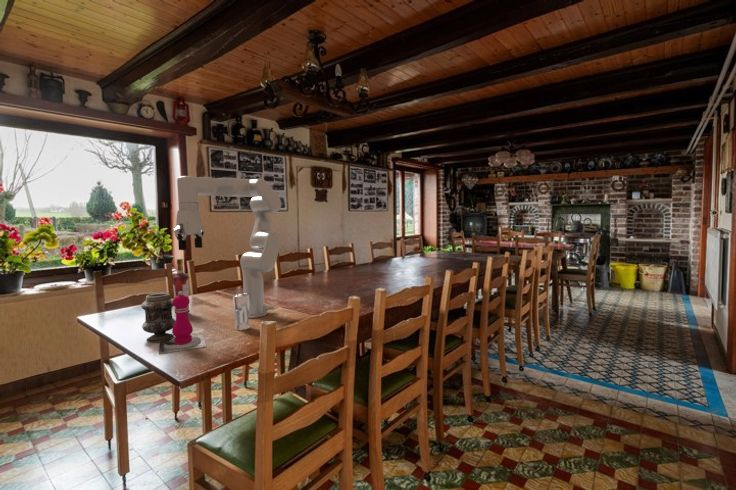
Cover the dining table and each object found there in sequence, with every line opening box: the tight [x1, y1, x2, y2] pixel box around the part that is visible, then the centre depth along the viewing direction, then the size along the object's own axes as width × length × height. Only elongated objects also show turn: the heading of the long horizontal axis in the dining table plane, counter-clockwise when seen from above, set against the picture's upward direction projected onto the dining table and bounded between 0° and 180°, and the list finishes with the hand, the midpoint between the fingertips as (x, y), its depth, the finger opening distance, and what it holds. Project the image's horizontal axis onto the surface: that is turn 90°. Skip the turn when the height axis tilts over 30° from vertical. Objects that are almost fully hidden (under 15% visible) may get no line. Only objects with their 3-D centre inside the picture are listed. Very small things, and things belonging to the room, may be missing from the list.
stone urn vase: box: [141, 292, 176, 343], centre depth 157 cm, size 12×12×18 cm
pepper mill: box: [171, 291, 194, 344], centre depth 151 cm, size 7×7×20 cm
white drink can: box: [232, 292, 250, 331], centre depth 170 cm, size 7×7×15 cm
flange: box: [158, 334, 207, 355], centre depth 151 cm, size 16×16×1 cm
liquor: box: [171, 258, 191, 315], centre depth 193 cm, size 7×7×28 cm
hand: (190, 248), depth 159 cm, fingers open, 9 cm apart
